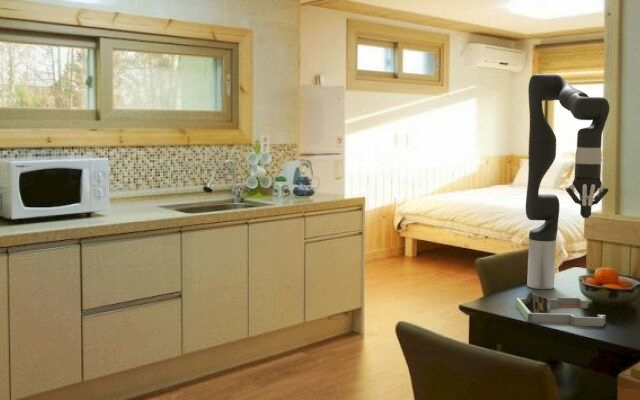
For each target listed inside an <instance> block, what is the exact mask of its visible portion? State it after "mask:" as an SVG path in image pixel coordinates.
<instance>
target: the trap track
mask: <svg viewBox="0 0 640 400" xmlns="http://www.w3.org/2000/svg"><path fill="white" fill-rule="evenodd" d="M525 299H526V298H525V297H524V298H523V297H522V298H521V297H516V298H515V307H516V308H517V310H518V311H519V312H520V314H521V315H522V316H523V317H524V319H526V321H527V323H549V324H550V323H551V324H552V323H554V324H555V323H556V324H570V325H571V326H578V327H604V326H605V324H606V314H597V316H596V317H595V316H575V314H574V313H531V312H530V311H529V310H528V308H527V307H526V306H525V305H524V302H525ZM548 299H549V302H551V305H550V308H553V309H554V308H555V309H556V308H557V309H558V308H580V309H588V304H589V301H588V300H587V299H583V297H581V298H580V297H564V296H563V297H559V296H557V297H555V296H554V297H552V298H548Z"/></svg>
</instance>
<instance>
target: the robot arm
mask: <svg viewBox="0 0 640 400" xmlns="http://www.w3.org/2000/svg"><path fill="white" fill-rule="evenodd" d="M527 91H528V92H527V93H528V109H529V110H528V111H529V112H528V113H529V134H528V135H529V136H528V174H527V187H526V197H525V213H526V214H525V215H526V218H527V219H528V220H529V221H544V223H542V225H540V226H538V227H536V228H532V229H531V230H530V231H529V234H528V235H529V236H528V256H527V277H526V278H527V279H526V280H527V282H526V285H527V287H528V288H530V289H537V290H552V289H554V288H555V278H556V277H555V276H556V275H555V274H556V272H555V271H556V256H557V255H556V253H557V252H556V251H557V235H558V229H559V227H558V226H559V217H560V199H559V198H558V195H556V194H541V193H540V194H539V192H540V191H539V190H540V187H541V183H542V181H543V179H544V177H545V175H546V174H547V172H548V171H549V169H550V168H551V167H552V165H553V164H554V162H555V159H556V157H557V137H556V134H555V132H554V130H553V129H552V127H551V125H550V124H549V122H548V120H547V118H546V116H545V114H544V110H543V102H545V101H547V102H548V101H549V102H550V101H551V102H552V101H558V102H559V103H560V106H561V107H562V108H564V109H565V110H567V111H568V112H570V113H571V114H572V116H573V118H575V119H576V120H580V121H591V124H590V125H589V126H588V127H583V128H580V129H578V131H577V133H576V134H577V137H576V151H575V158H574V159H575V160H574V176H573V177H574V179H573V180H572V183H571V185H569V186H567V187H565V190H564V191H566V192H567V194H568V195H569V196H570V198H571V199H572V201H573V202H574V203H575V204H577V205H579V206H580V213H579V214H580V216H581V218H582V219H589V217H591V215H592V207H593V206H594V205H597V204H599V203H600V201H601V200H602V199H603V198H605V196H606V195H607V193H608V192H609V189H608V188H607V187H605V186H604V185H602V184H603V183H602V181H601V177H602V176H601V175H602V162H603V161H602V141H603V140H602V137H603V136H602V135H603V133H604V130H605V129H604V128H605V126H606V122H607V120H608V118H609V114H610V103H609V101H608V99H606V98H605V97H603V96H589V95H588V94H587V93H585V92H583V91H582V90H579V89H577V88H575V87H573V86H572V85H571V84H570V82H569V83H568V81H566V80H565V79H564V77H562V76H561V75H559V74H555V73H533V75H531V77H530V78H529V81H528V88H527ZM575 191H577V193H578V194H579V197H578V195H577V194H576V192H575ZM597 192H598V193H597ZM596 193H597V194H596ZM595 194H596V195H595Z"/></svg>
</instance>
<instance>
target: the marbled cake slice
mask: <svg viewBox="0 0 640 400" xmlns="http://www.w3.org/2000/svg"><path fill="white" fill-rule="evenodd" d="M532 290H533V288H530V290H529V292H528V294H527V296H526V299H525V302H524V305H525V306H526V307H527V308H528V310H529V311H530V312H531V313H551V312H553V310H552V309H551V307H550V305H551V302H549V299H550V298H547V297H544V296H541V295H537V294H534V292H533V291H532Z"/></svg>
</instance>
